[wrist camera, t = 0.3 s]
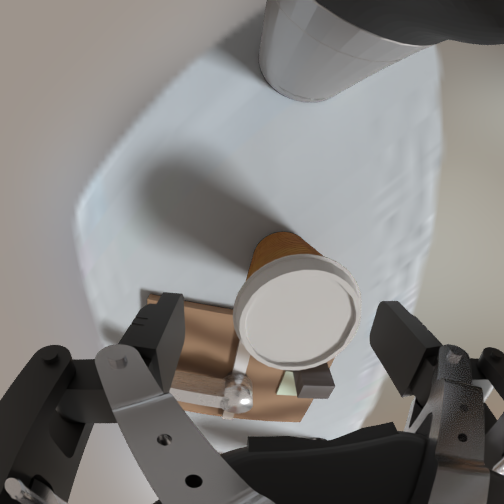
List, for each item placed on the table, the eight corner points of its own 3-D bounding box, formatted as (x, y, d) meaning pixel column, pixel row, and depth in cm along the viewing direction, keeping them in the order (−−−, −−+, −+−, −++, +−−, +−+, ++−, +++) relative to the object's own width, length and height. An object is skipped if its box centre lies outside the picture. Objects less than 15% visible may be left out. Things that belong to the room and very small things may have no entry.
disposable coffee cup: (279, 313, 32) (294, 390, 20) (218, 260, 29) (202, 328, 18) (341, 259, 29) (389, 319, 18) (284, 196, 27) (311, 230, 16)
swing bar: (255, 376, 32) (255, 397, 29) (249, 395, 33) (249, 416, 30) (138, 355, 31) (129, 374, 27) (140, 375, 32) (132, 394, 29)
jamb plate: (150, 293, 30) (133, 322, 25) (344, 323, 32) (360, 354, 27) (153, 397, 37) (145, 426, 32) (299, 416, 39) (304, 444, 34)
